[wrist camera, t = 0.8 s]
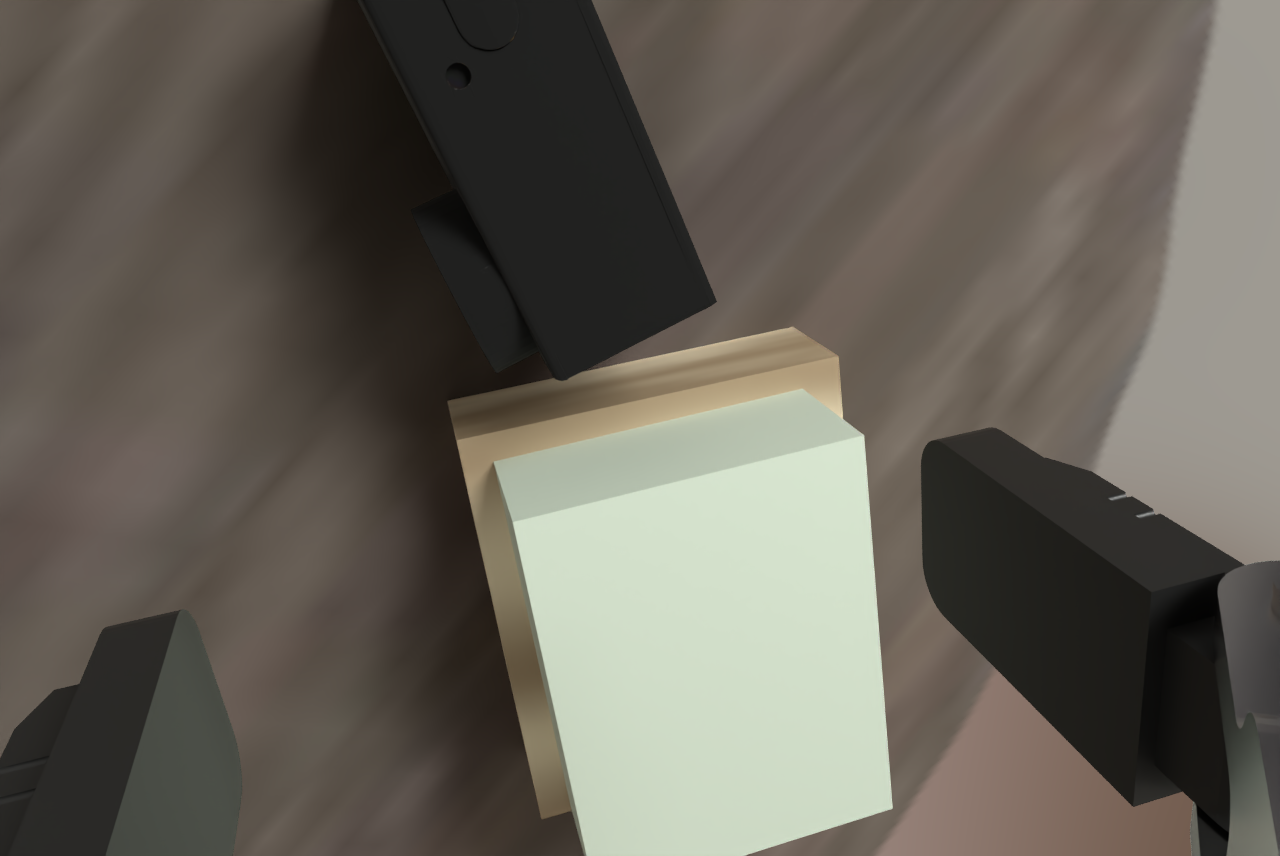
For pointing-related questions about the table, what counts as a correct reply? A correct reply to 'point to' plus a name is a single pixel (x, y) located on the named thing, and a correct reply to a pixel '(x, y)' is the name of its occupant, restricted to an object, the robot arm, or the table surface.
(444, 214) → the digital camera
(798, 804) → the block top
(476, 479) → the block bottom
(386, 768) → the table surface
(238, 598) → the table surface
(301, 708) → the table surface
